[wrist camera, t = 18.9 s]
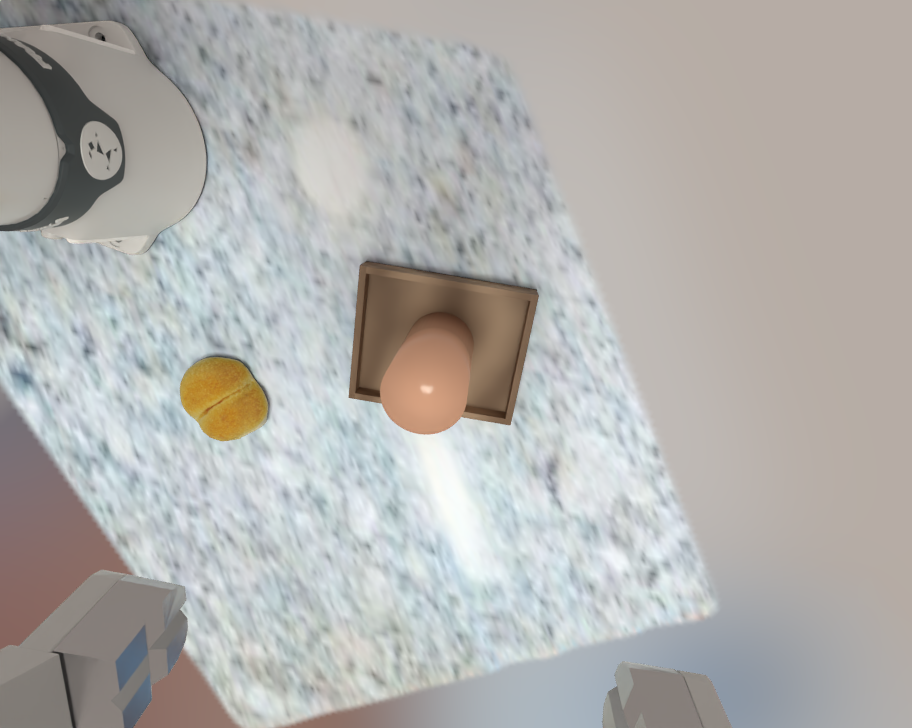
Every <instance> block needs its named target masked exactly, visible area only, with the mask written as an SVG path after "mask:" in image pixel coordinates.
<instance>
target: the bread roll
mask: <svg viewBox="0 0 912 728" xmlns="http://www.w3.org/2000/svg"><path fill="white" fill-rule="evenodd" d="M180 396H181V402H182V405H183V407H184V409H185V410H186V411H187V413H188V414H189V415H190V416H192V417H193V418H194V419H195V420H196V421H197V422H198V423H199V425H200V427H201V429H202V430H203V432H204V433H206V434H207V435H208V436H209V437H211V438H213V439H216V440H220V441H229V440H236V439H240V438H241V437H242V436H245V435H247V434H249V433H251V432H253V431H255V430H257V429H258V428H260V427H262V426H263V425H264V424H265V423H266V421H267V413H268V402H267V398H266V396H265V394H264V392H263V390H262V388H261V387H260V386H259V385H258V383H257V382H256V381H255V379H254V378H253V376H252V375H251V373H250V371H249V370H248V369H247V368H246V367H245V365H244V364H243V363H241V362H240V361H238V360H235V359H229V358H222V357H209V358H204V359H202V360H200V361H198V362H196V363H195V364H194V365H192V366H191V367H190V368H189V369H188V370H187V371H186V373H185V374H184V376H183V379H182V381H181V384H180Z"/></svg>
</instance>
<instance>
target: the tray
mask: <svg viewBox="0 0 912 728" xmlns="http://www.w3.org/2000/svg"><path fill="white" fill-rule="evenodd" d="M538 297H539V295H538V292H537V290H535V289H529V288H523V287H518V286H512V285H506V284H500V283H494V282H488V281H482V280H476V279H470V278H464V277H458V276H452V275H446V274H440V273H434V272H428V271H422V270H416V269H410V268H404V267H398V266H392V265H386V264H380V263H374V262H368V261H366V262H365V263H363V264H361V265H360V269H359V281H358V293H357V305H356V317H355V329H354V341H353V352H352V364H351V376H350V388H349V398H353V399H359V400H365V401H371V402H376V403H382V402H381V397H380V387H381V382H382V379H383V377H384V375H385V373H386V371H387V369H388V367H389V366H390V364H391V362H392V361H393V359H394V357H395V355H396V354H397V352H398V350H399V348H400V347H401V345H402V343H403V341H404V340H405V338H406V336H407V334H408V333H409V331H410V329H411V327H412V326H413V325H414V323H415V322H416V321H417V320H419V319H420V318H421V317H423V316H425V315H427V314H430V313H435V312H444V313H449V314H452V315H454V316H456V317H458V318H459V319H461V320H462V321H463V322H464V323H465V324H466V325H467V326H468V328H469V329H470V331H471V334H472V336H473V341H474V349H473V357H472V365H471V373H470V381H469V388H468V396H467V404H466V407H465V410H464V412H463V414H462V416H461V417H464V418H470V419H476V420H482V421H488V422H494V423H500V424H505V425H511V420H512V416H513V411H514V407H515V402H516V398H517V393H518V388H519V384H520V379H521V375H522V370H523V365H524V361H525V356H526V352H527V347H528V342H529V338H530V333H531V329H532V324H533V320H534V315H535V310H536V306H537V301H538Z"/></svg>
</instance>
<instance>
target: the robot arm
mask: <svg viewBox="0 0 912 728" xmlns="http://www.w3.org/2000/svg"><path fill="white" fill-rule="evenodd" d="M103 35H104V37H105V42H104V41H102V40H101V39H102V36H103ZM205 175H206V150H205V144H204V139H203V135H202V132H201V129H200V126H199V123H198V121H197V118H196V116H195V114H194V112H193V110H192V108H191V107H190V105H189V103H188V102H187V100H186V99H185V97H184V96H183V95H182V93H181V92H180V91H179V90H178V88H177V87H176V86H175V85H174V84H173V83H172V82H171V81H170V80H169V79H168V78H167V77H166V76H165V75H164V74H162V73H161V72H160V71H159V70H158V69H157V68H156V67H155V66H154V65H153V64H152V63H151V62H150V61H149V60H148V58H147V57H146V55H145V53H144V51H143V49H142V48H141V46H140V44H139V42H138V41H137V39H136V38H135V36H134V35H133V33H132V32H131V31H130V29H129V28H128V27H127V26H125V25H124V24H122V23H118V22H114V21H94V22H80V23H67V24H53V25H40V26H26V27H13V28H0V231H20V232H29V231H40V230H41V235H42V236H43V237H45V238H48V239H55V240H59V239H62V238H66V240H67V241H68V242H69V243H74V244H83V243H98V244H101V245H104V246H106V247H109V248H112V249H115V250H117V251H120V252H123V253H126V254H129V255H139V254H143V253H145V252H146V251H147V250H148V249H149V247H150V246H151V245H152V243H153V242H154V240H155V239H156V237H157V235H158V234H159V233H160V232H161V231H163V230H164V229H166V228H168V227H170V226H172V225H174V224H175V223H177V222H179V221H180V220H181V219H183V218H184V217H185V216H186V215H187V214H188V213H189V212H190V211H191V209H192V208H193V207H194V205H195V204H196V202H197V200H198V198H199V196H200V194H201V191H202V188H203V185H204V181H205ZM121 240H122V241H121ZM185 601H186V593H185V587H184V586H181V585H177V584H172V583H167V582H162V581H157V580H152V579H148V578H143V577H138V576H133V575H127V574H122V573H116V572H111V571H106V570H100V571H98V572H97V573H94V574H92V575H91V576H89V578H88V579H86V581H84V582H83V583H82V584H81V585H80V587H78V588H77V589H76V590H75V591H74V592H73V593H72V594H71V595H70V596H69V597H68V598H67V599H66V600H65V601H64V602H63V603H62V604H61V605H60V606H59V607H58V608H57V609H56V610H55V611H54V612H53V613H52V614H51V615H50V616H49V617H48V618H47V619H46V620H45V621H44V622H43V623H42V624H41V625H39V626H38V628H37V629H36V630H34V631H33V632H32V633H31V634H30V635H29V636H28V637H27V638H26V639H25V640H24V641H23V642H22V643H21V644H20V645H19V646H12V645H9V646H7V647H5V648H3V649H1V650H0V728H133V727H134V726H135V724H136V723H137V721H138V720H139V718H140V717H141V715H142V714H143V712H144V711H145V709H146V708H147V706H148V705H149V703H150V702H151V700H152V690H151V689H152V688H151V685H153V684H155V683H156V682H157V681H159V680H161V679H162V678H164V677H165V676H167V675H168V674H169V673H170V671H171V669H172V668H173V666H174V665H175V663H176V661H177V660H178V658H179V655H180V653H181V651H182V648H183V646H184V643H185V641H186V635H187V630H188V623H187V617H186V616H185V615H184V614H183V612H182V611H181V610H180V608H181V607H182V606H183V604H184V603H185ZM615 679H616V683H617V687H615V688H613V689H612V690H610V691H609V692H608V693H607V697H606V699H605V703H604V707H603V721H602V723H603V728H732V726H731V724H730V722H729V720H728V717H727V715H726V713H725V711H724V709H723V706H722V704H721V702H720V700H719V697H718V695H717V693H716V691H715V688H714V686H713V684H712V682H711V681H710V679H709V678H708V677H707V676H706V675H701V674H696V673H690V672H684V671H676V670H674V669H668V668H663V667H657V666H650V665H644V664H638V663H631V662H625V661H623V662H621V663H620V664H619V665H618V668H617V670H616V672H615Z"/></svg>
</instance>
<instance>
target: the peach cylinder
mask: <svg viewBox="0 0 912 728" xmlns="http://www.w3.org/2000/svg"><path fill="white" fill-rule="evenodd" d="M473 349H474V341H473V336H472V334H471V331H470V329H469V328H468V326H467V325H466V324H465V323H464V322H463V321H462V320H461V319H459V318H458V317H456V316H454V315H452V314H449V313H444V312H435V313H430V314H427V315H425V316H423V317H421V318H420V319H419V320H417V321H416V322H415V323H414V325H413V326H412V327H411V329H410V331H409V333H408V334H407V336H406V338H405V340H404V341H403V343H402V345H401V347H400V348H399V350H398V352H397V354H396V355H395V357H394V359H393V361H392V362H391V364H390V366H389V367H388V369H387V371H386V373H385V375H384V377H383V379H382V382H381V387H380V397H381V402H382V405H383V408H384V410H385V411H386V413H387V415H388V416H389V417H390V418H391V419H392V421H393V422H395V423H396V424H397V425H398V426H400V427H401V428H403V429H405V430H407V431H410V432H413V433H417V434H435V433H439V432H442V431H444V430H446V429H448V428H450V427H451V426H453V425H454V424H455V423H456V422H457V421H458V420H459V419H460V417H461V416H462V414H463V412H464V410H465V407H466V404H467V396H468V388H469V381H470V373H471V365H472V357H473Z"/></svg>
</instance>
